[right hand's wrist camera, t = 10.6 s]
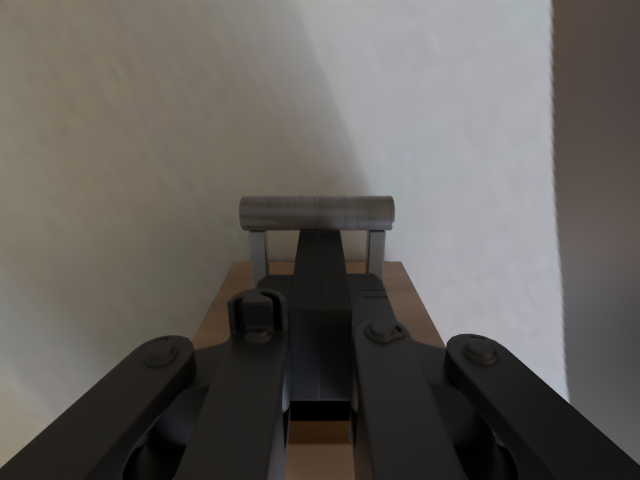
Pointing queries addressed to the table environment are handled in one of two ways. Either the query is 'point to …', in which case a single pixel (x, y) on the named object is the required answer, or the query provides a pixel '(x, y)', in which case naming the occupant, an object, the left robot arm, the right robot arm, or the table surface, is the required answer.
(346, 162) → the table surface
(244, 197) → the drawer
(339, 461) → the cabinet
